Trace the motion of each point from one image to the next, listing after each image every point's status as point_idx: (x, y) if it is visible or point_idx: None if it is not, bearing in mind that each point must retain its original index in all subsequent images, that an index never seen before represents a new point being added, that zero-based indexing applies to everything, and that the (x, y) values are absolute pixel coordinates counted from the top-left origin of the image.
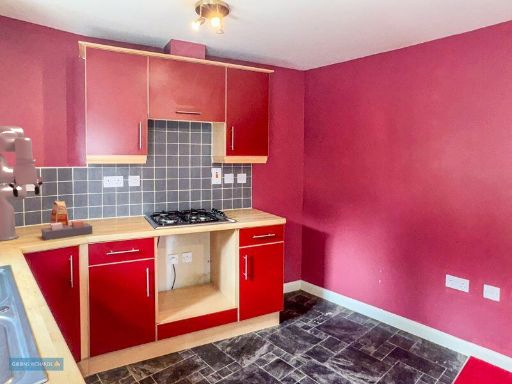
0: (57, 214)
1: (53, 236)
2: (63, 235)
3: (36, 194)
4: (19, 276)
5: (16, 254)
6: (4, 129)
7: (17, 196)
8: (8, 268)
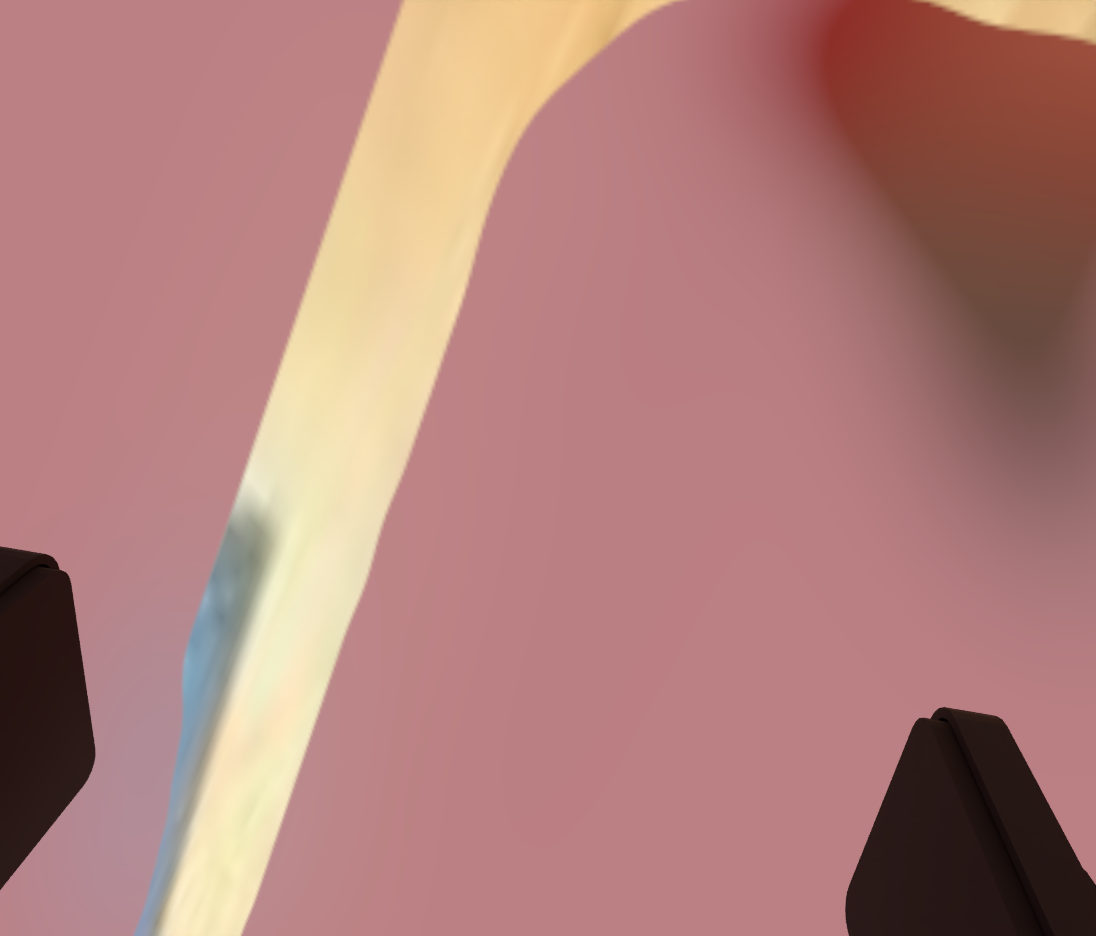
0: None
1: None
2: None
3: (868, 853)
4: (225, 803)
5: (451, 234)
6: None
7: (70, 772)
8: (230, 603)
